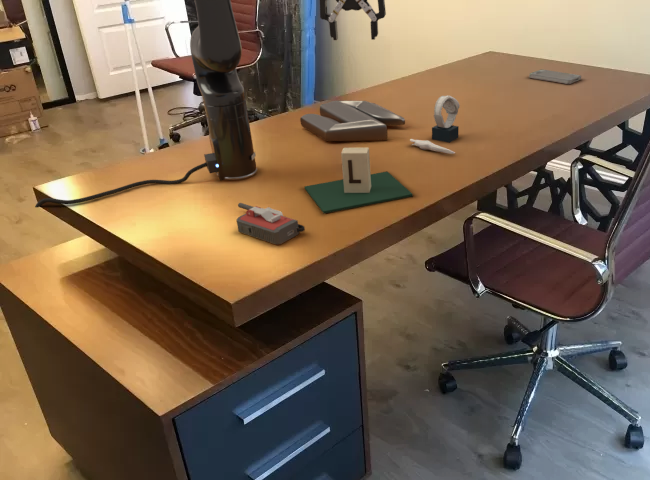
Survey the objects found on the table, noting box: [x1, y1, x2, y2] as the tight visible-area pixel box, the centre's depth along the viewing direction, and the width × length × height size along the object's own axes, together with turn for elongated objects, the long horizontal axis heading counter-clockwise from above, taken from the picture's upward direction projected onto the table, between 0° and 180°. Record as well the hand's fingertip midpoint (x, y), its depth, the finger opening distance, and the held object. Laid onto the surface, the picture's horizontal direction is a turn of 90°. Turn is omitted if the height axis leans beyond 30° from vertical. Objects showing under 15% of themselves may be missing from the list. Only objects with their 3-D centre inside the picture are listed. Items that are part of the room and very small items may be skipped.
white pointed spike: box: [409, 138, 456, 155], centre depth 164 cm, size 15×3×2 cm, turn 47°
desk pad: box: [304, 171, 414, 215], centre depth 144 cm, size 20×15×1 cm
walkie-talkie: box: [236, 202, 306, 246], centre depth 129 cm, size 9×4×20 cm
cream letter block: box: [340, 147, 372, 193], centre depth 141 cm, size 6×4×9 cm
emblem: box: [299, 100, 406, 142], centre depth 181 cm, size 28×5×28 cm
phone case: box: [528, 69, 582, 85], centre depth 221 cm, size 8×16×1 cm, turn 47°
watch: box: [431, 95, 461, 143], centre depth 170 cm, size 6×8×11 cm
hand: (354, 39), depth 146 cm, fingers open, 8 cm apart
